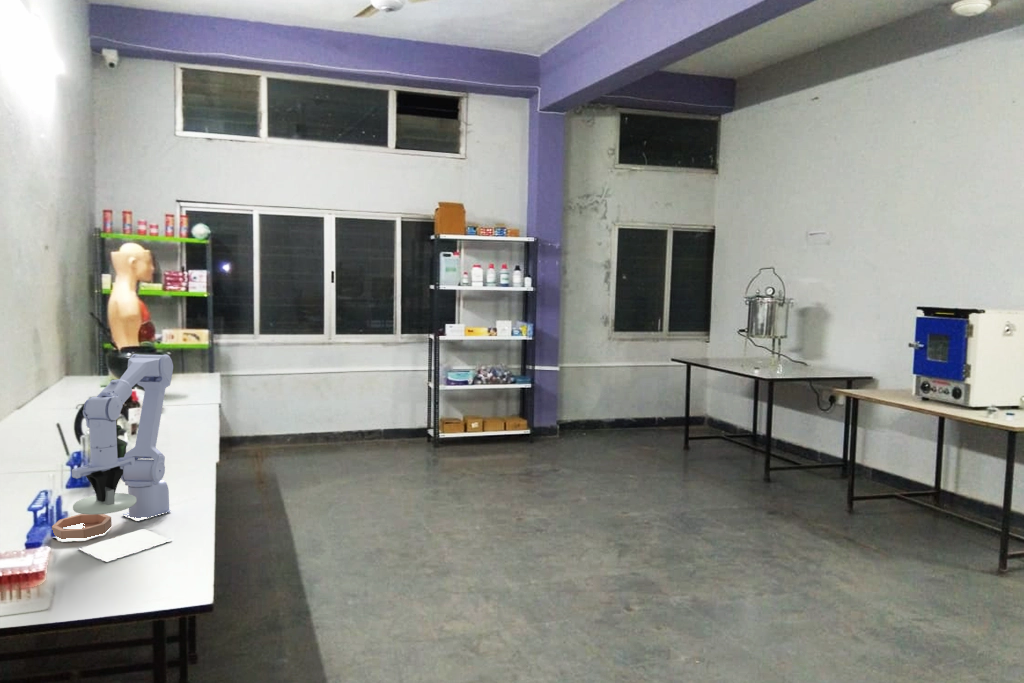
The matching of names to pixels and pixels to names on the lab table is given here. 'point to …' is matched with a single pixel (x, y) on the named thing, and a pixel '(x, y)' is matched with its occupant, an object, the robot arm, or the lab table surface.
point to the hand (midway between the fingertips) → (105, 499)
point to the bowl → (92, 525)
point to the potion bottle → (120, 443)
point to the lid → (105, 503)
